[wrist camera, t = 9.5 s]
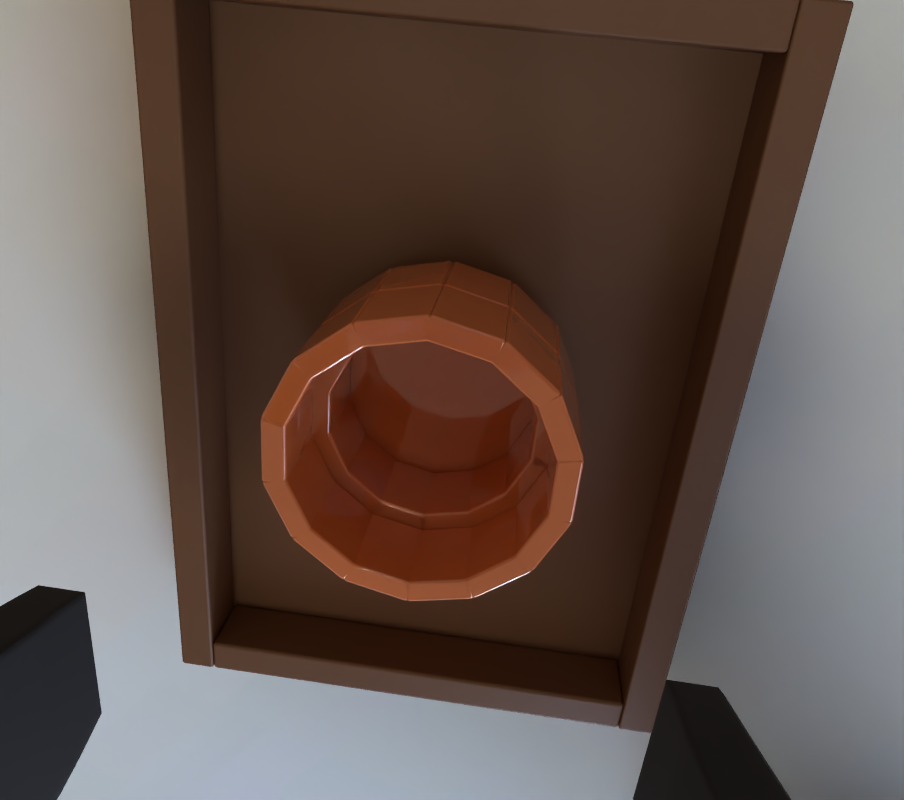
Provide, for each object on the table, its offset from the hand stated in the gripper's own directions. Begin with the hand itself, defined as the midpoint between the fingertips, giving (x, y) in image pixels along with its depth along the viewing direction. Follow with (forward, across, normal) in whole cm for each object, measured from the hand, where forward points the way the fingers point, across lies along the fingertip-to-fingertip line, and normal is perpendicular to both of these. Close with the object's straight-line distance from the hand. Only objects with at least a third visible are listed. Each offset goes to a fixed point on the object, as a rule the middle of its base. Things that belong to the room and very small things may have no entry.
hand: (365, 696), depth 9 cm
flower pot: (+8, 0, -1) cm, 8 cm away
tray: (+9, 0, -1) cm, 9 cm away
